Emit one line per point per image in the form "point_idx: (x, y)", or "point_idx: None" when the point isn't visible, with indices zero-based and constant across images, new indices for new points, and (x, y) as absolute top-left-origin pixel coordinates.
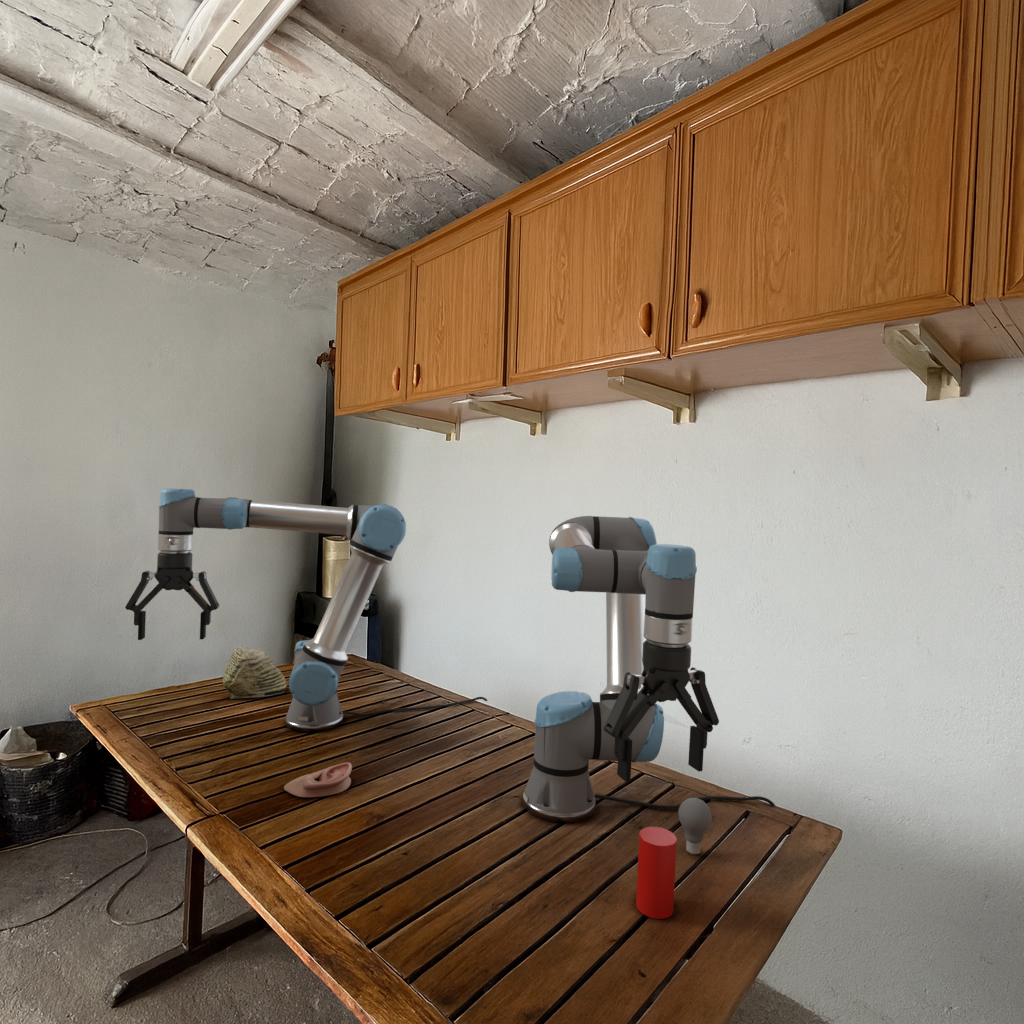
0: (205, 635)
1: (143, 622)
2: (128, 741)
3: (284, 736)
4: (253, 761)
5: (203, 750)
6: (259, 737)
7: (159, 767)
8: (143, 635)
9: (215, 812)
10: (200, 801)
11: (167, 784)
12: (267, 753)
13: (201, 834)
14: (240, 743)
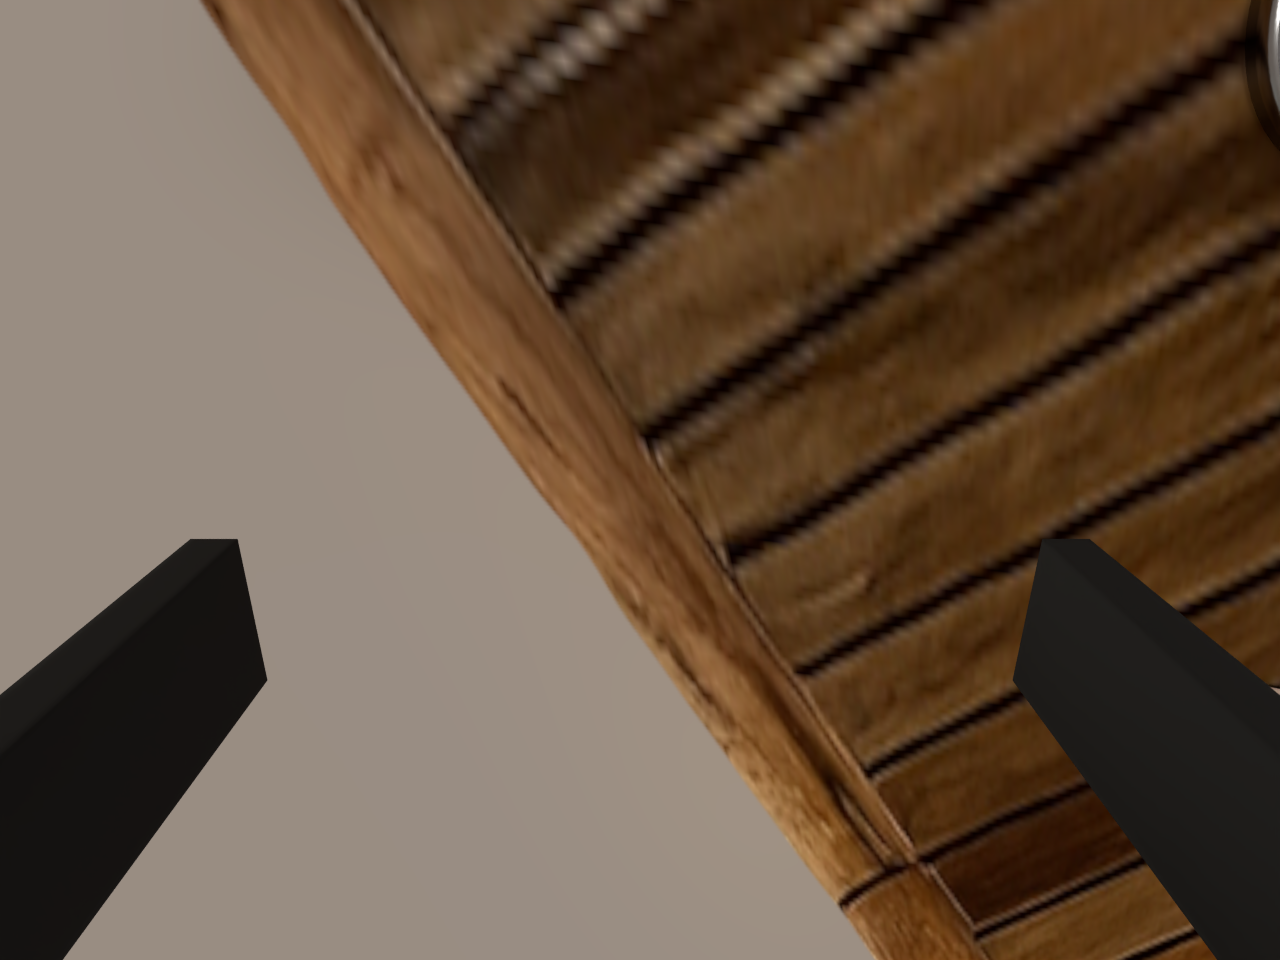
0: (1100, 556)
1: (100, 795)
2: (409, 191)
3: (1203, 225)
4: (1028, 520)
5: (806, 368)
6: (1072, 223)
7: (658, 528)
8: (227, 623)
9: (905, 855)
10: (854, 793)
11: (725, 672)
12: (1093, 443)
13: (879, 944)
14: (974, 299)
